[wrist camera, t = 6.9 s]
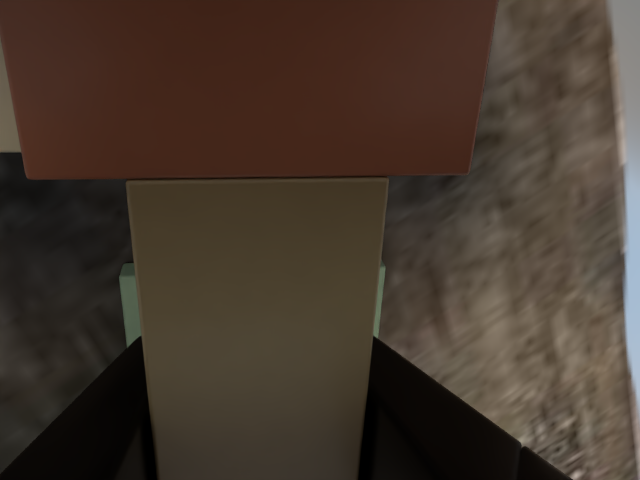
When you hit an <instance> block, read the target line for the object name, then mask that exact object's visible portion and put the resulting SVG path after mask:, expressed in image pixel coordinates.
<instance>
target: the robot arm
mask: <svg viewBox="0 0 640 480" xmlns="http://www.w3.org/2000/svg"><path fill="white" fill-rule="evenodd" d="M521 447H522V445H521V443H520V442H519V441H518V440H516V439H515V438H514V437H512V436H511V435H510V434H508V433H507V432H505V431H504V430H503V429H501V428H500V427H499V426H497V425H496V424H494V423H493V422H492V421H490V420H489V419H488V418H486V417H485V416H483V415H482V414H481V413H479V412H478V411H477V410H475V409H474V408H472V407H471V406H470V405H468V404H467V403H466V402H464V401H463V400H461V399H460V398H459V397H457V396H456V395H455V394H453V393H452V392H450V391H449V390H448V389H446V388H445V387H444V386H442V385H441V384H439V383H438V382H437V381H435V380H434V379H433V378H431V377H430V376H428V375H427V374H426V373H424V372H423V371H422V370H420V369H419V368H417V367H416V366H415V365H413V364H412V363H411V362H409V361H408V360H406V359H405V358H404V357H402V356H401V355H400V354H398V353H397V352H396V351H394V350H393V349H391V348H390V347H389V346H387V345H386V344H385V343H383V342H382V341H380V340H379V339H378V338H376V337H375V336H374V335H373V342H372V352H371V362H370V371H369V381H368V391H367V400H366V410H365V420H364V429H363V439H362V449H361V458H360V468H359V478H358V480H573V479H571V478H570V477H568V476H567V475H566V474H564V473H563V472H561V471H560V470H558V469H557V468H555V467H554V466H553V465H551V464H550V463H548V462H547V461H546V460H544V459H543V458H541V457H540V456H539V455H537V454H536V453H535V452H533V451H532V450H530V449H529V448H528V447H526V446H524V447H522V449H521ZM0 480H157V477H156V468H155V458H154V449H153V439H152V430H151V420H150V411H149V402H148V392H147V383H146V373H145V364H144V354H143V345H142V336H139V337H138V338H137V339H135V340H134V341H133V342H132V343H131V344H130V345H129V346H128V347H127V348H126V349H125V350H124V351H123V352H122V353H121V354H120V355H119V356H118V357H117V358H116V359H115V360H114V361H113V362H112V363H111V364H110V365H109V366H108V367H107V368H106V369H105V370H104V371H103V372H102V373H101V374H100V375H99V376H98V377H97V378H96V379H95V380H94V381H93V382H92V383H91V384H90V385H89V386H88V387H87V388H86V389H85V390H84V391H83V392H82V393H81V394H80V395H79V396H78V397H77V398H76V399H75V400H74V401H73V402H72V403H71V404H70V405H69V406H68V407H67V408H66V409H65V410H64V411H63V412H62V413H61V414H60V415H59V416H58V417H57V418H56V419H55V420H54V421H53V422H52V423H51V424H50V425H49V426H48V427H47V428H46V429H45V430H44V431H43V432H42V433H41V434H40V435H39V436H38V437H37V438H36V439H35V440H34V441H33V442H32V443H31V444H30V445H29V446H28V447H27V448H26V449H25V450H24V451H23V452H22V453H21V454H20V455H19V456H18V457H17V458H16V459H15V460H14V461H13V462H12V463H11V464H10V465H9V466H8V467H7V468H6V469H5V470H4V471H3V472H2V473H1V474H0Z"/></svg>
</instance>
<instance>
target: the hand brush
mask: <svg viewBox="0 0 640 480" xmlns="http://www.w3.org/2000/svg"><path fill="white" fill-rule="evenodd" d="M497 6H498V0H0V152H21V153H22V158H23V164H24V169H25V174H26V176H27V178H28V179H31V180H67V179H127V181H126V184H125V185H126V194H127V204H128V213H129V222H130V232H131V241H132V251H133V260H134V270H135V279H136V288H137V298H138V307H139V317H140V326H141V336H142V345H143V354H144V364H145V373H146V383H147V392H148V402H149V411H150V420H151V430H152V439H153V449H154V458H155V468H156V477H157V480H358V478H359V468H360V458H361V449H362V439H363V429H364V420H365V410H366V400H367V391H368V381H369V371H370V362H371V352H372V342H373V333H374V323H375V313H376V304H377V294H378V284H379V275H380V265H381V255H382V246H383V236H384V226H385V217H386V207H387V197H388V188H389V179H388V177H387V176H432V175H467V174H469V172H470V169H471V163H472V157H473V151H474V145H475V139H476V133H477V127H478V121H479V115H480V109H481V103H482V97H483V91H484V85H485V78H486V72H487V66H488V60H489V54H490V48H491V42H492V36H493V30H494V24H495V18H496V12H497Z"/></svg>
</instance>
